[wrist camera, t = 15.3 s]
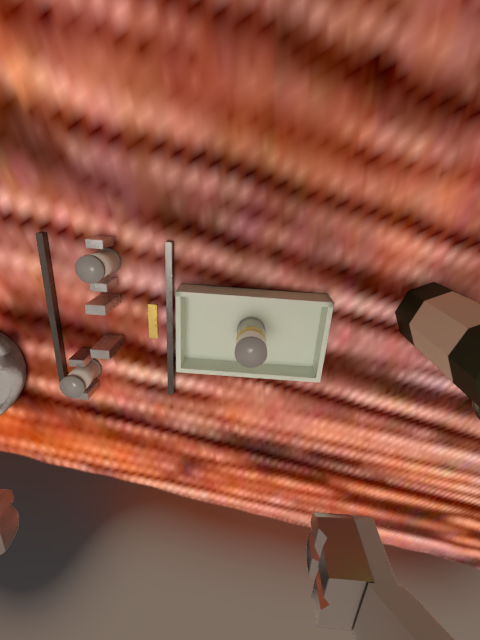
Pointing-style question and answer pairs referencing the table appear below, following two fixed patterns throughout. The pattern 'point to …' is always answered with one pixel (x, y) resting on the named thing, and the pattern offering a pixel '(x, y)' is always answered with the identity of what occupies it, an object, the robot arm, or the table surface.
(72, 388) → the fuse cartridge near camera
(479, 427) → the table surface
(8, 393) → the dish
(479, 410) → the tin
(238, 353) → the cylinder
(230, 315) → the tray
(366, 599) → the robot arm
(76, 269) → the fuse cartridge near arm
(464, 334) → the wine bottle
